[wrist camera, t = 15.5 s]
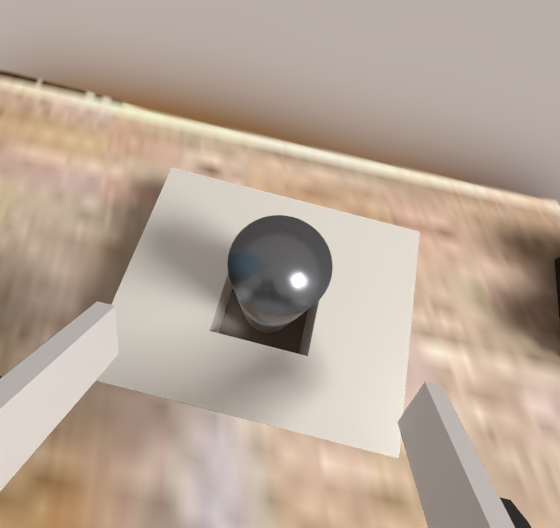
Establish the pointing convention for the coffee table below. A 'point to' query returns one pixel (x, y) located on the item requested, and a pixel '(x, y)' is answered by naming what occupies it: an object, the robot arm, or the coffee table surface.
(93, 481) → the coffee table surface
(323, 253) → the pin
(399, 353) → the socket block
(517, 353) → the coffee table surface
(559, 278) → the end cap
